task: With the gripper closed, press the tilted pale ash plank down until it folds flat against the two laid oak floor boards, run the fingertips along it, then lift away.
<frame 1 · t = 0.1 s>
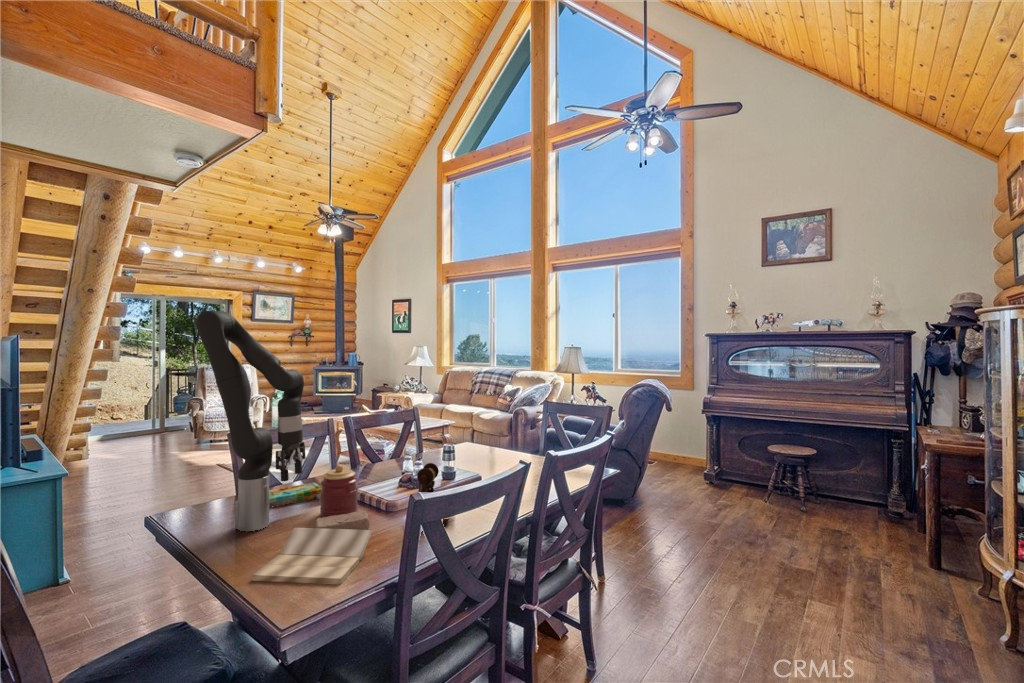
hand: (291, 477, 158), 17 cm above the table, tool pointing down, fingers open, 8 cm apart
canister: (339, 513, 172), on the table
brick: (342, 531, 156), on the table
puzzle game: (293, 500, 187), on the table
oak floor boards: (307, 571, 128), on the table
ash plank: (326, 543, 139), point 3 cm above the table, hinge at 30.0°
dark brown upright piece: (428, 523, 162), on the table
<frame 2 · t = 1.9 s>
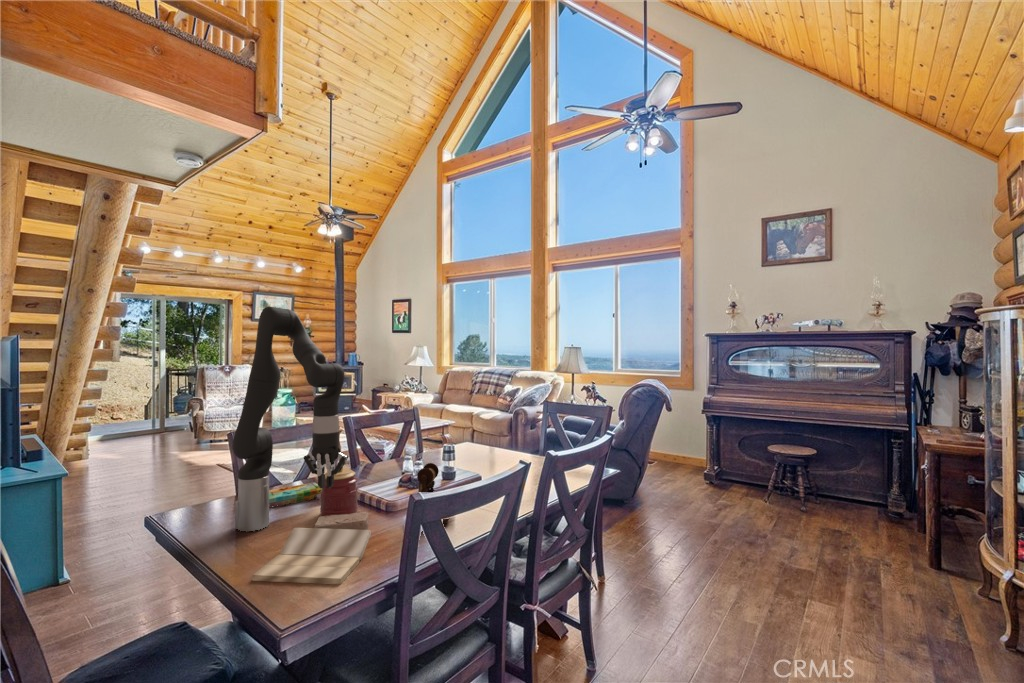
hand: (326, 487, 141), 19 cm above the table, tool pointing down, fingers closed
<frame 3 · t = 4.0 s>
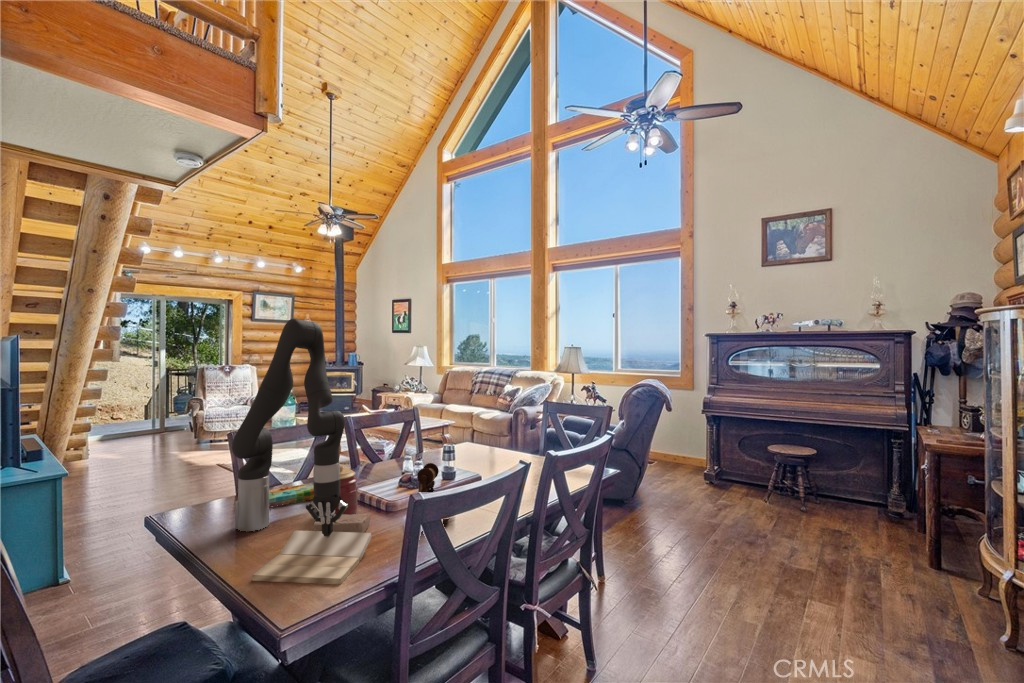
hand: (327, 535, 141), 4 cm above the table, tool pointing down, fingers closed
ash plank: (326, 545, 139), point 3 cm above the table, hinge at 22.2°, touching gripper
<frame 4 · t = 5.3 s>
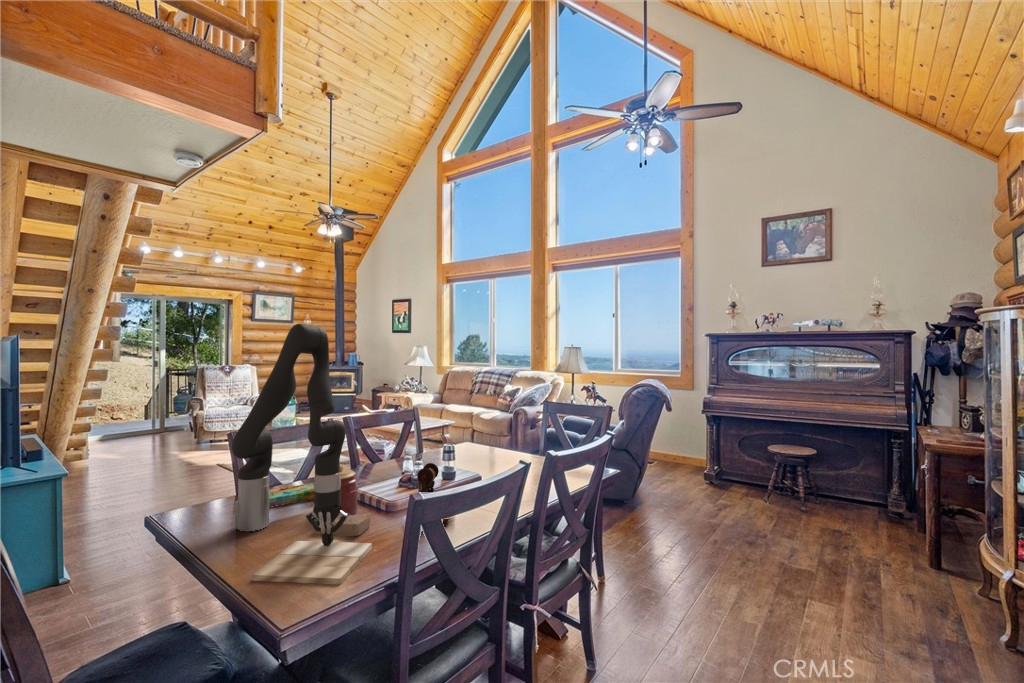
hand: (327, 544, 142), 2 cm above the table, tool pointing down, fingers closed
ash plank: (326, 550, 139), point 1 cm above the table, hinge at -0.1°, touching gripper
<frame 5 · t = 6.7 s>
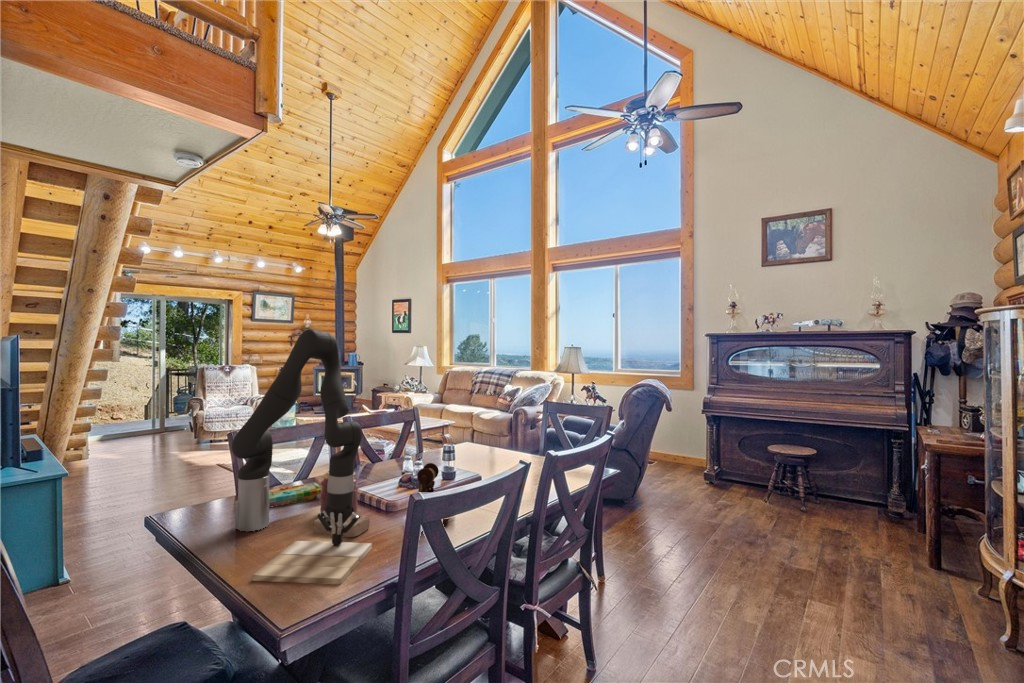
hand: (337, 544, 141), 2 cm above the table, tool pointing down, fingers closed
ash plank: (326, 550, 139), point 1 cm above the table, hinge at -0.1°
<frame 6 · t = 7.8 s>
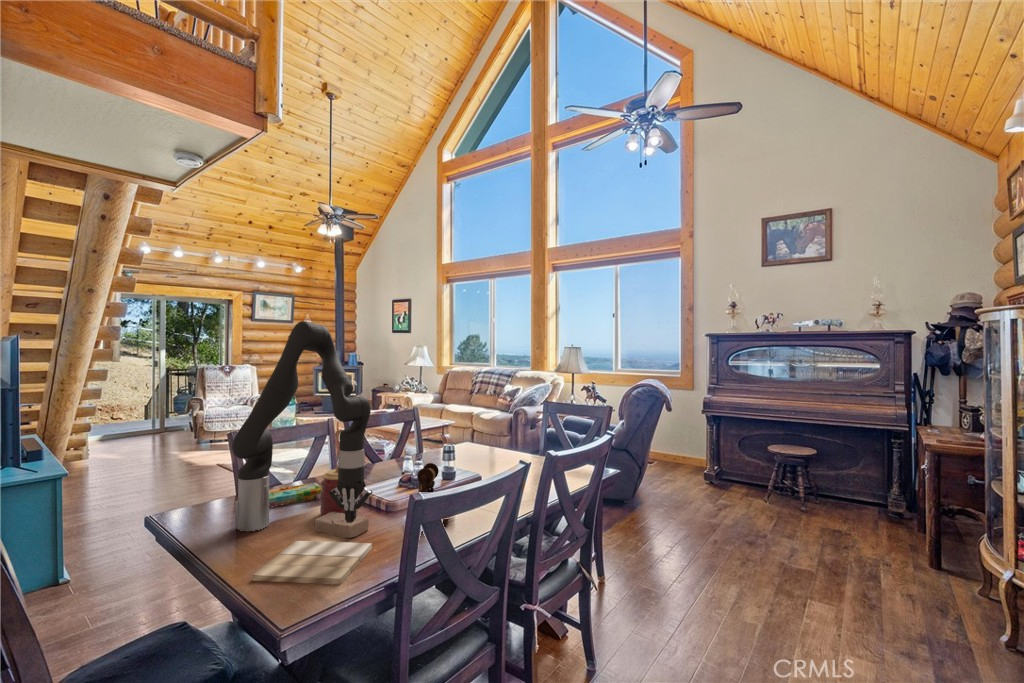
hand: (350, 521, 140), 9 cm above the table, tool pointing down, fingers closed
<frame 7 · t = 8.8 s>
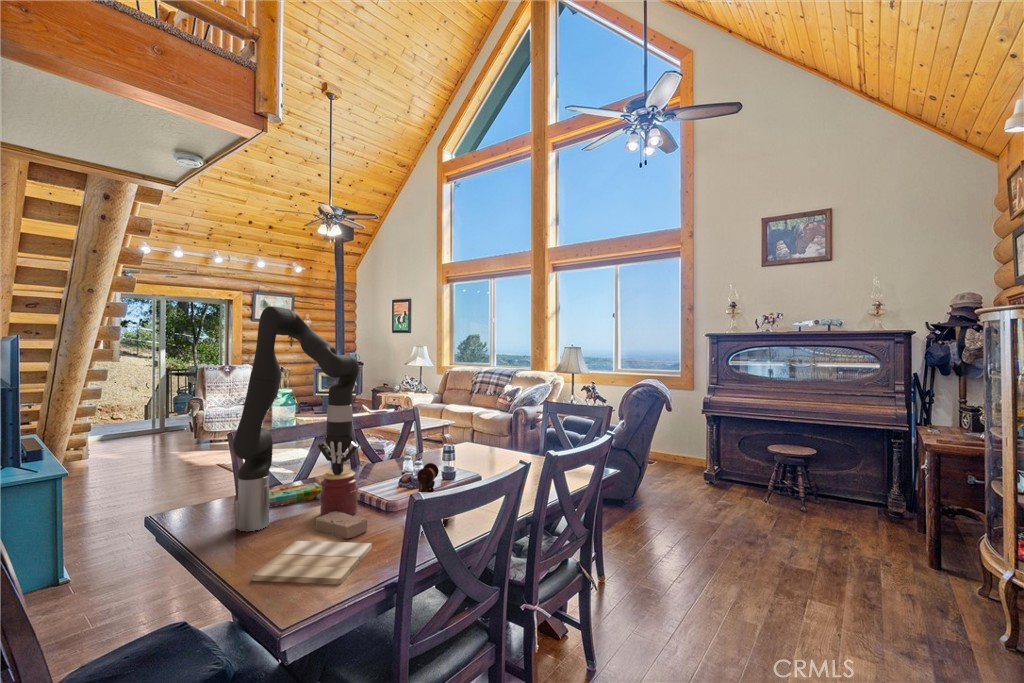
hand: (337, 474, 146), 22 cm above the table, tool pointing down, fingers closed
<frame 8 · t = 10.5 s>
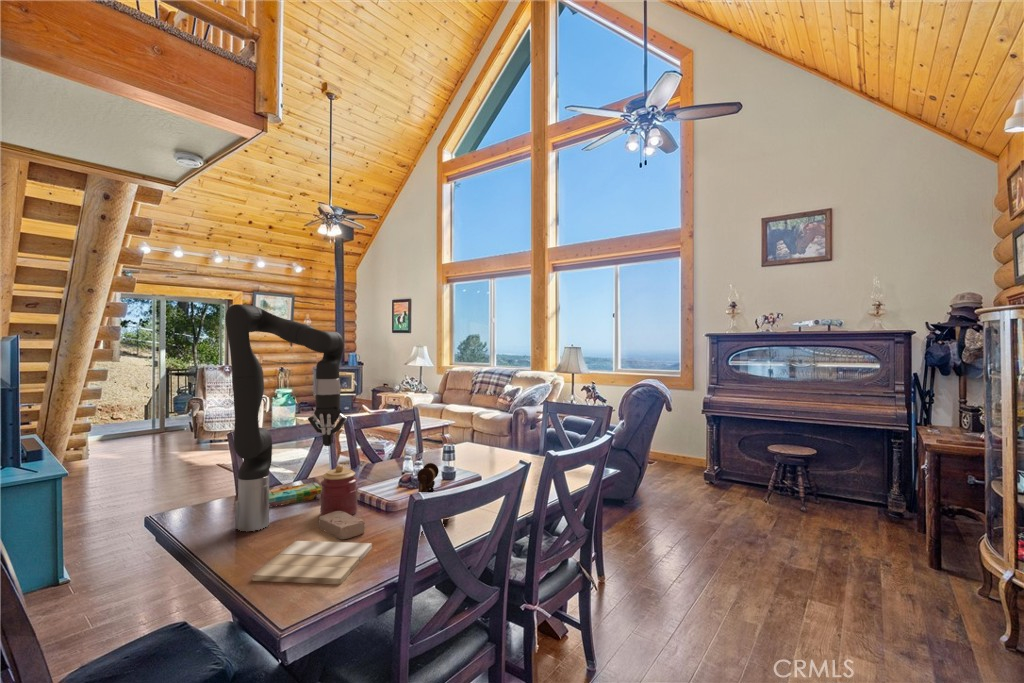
hand: (328, 445, 153), 29 cm above the table, tool pointing down, fingers closed
at the end: ash plank at +0° (first picture: +30°); brick moved 0.8 cm from its start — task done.
